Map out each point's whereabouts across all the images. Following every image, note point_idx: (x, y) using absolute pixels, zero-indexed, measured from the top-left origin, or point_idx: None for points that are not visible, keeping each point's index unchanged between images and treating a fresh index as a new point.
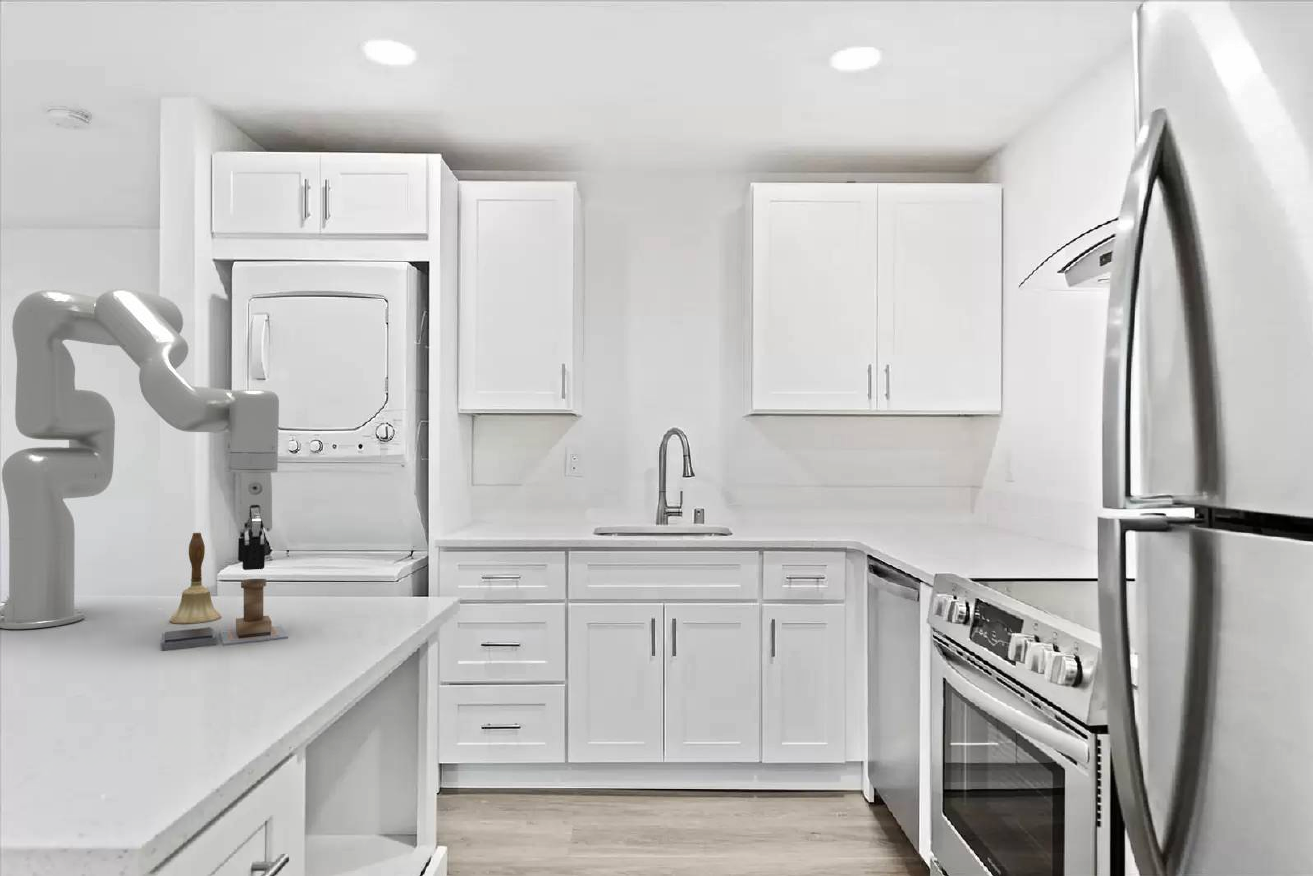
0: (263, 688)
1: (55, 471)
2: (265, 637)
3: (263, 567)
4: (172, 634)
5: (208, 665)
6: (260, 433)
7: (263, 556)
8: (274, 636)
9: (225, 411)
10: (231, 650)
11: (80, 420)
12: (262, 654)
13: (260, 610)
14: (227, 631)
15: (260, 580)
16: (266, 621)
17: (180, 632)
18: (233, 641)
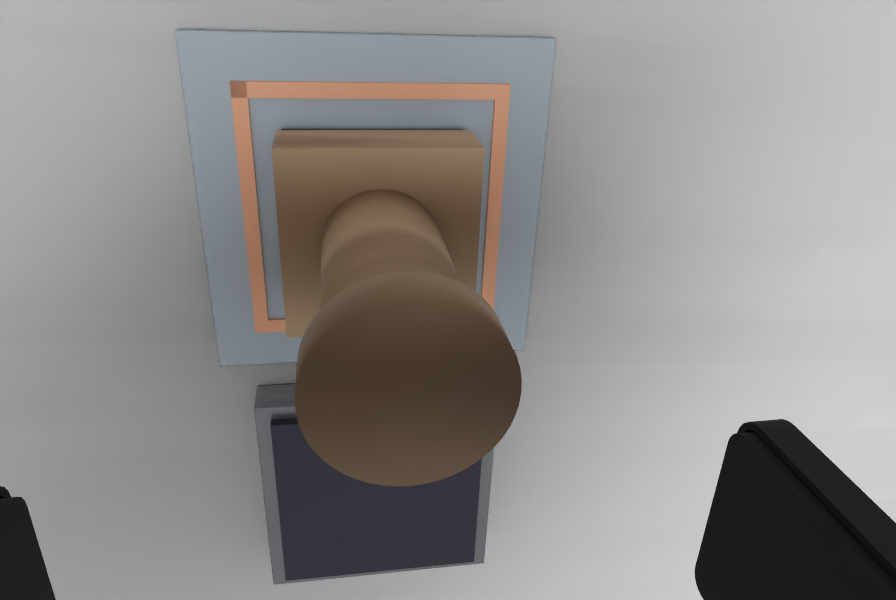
0: None
1: None
2: (510, 161)
3: (785, 426)
4: (366, 551)
5: (832, 385)
6: None
7: (880, 524)
8: (514, 112)
9: None
10: (645, 313)
11: None
12: (819, 197)
13: (435, 233)
14: (229, 333)
15: (453, 345)
16: (482, 177)
17: (336, 529)
18: (509, 309)
